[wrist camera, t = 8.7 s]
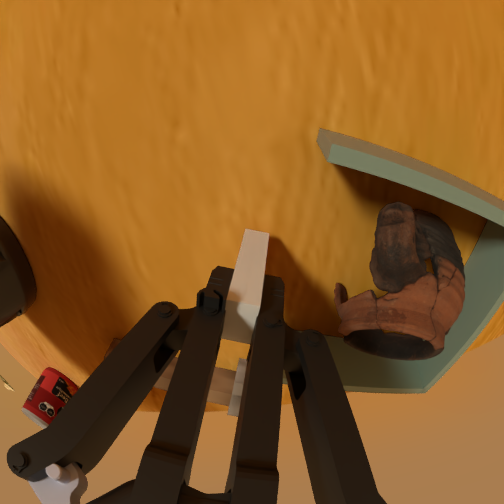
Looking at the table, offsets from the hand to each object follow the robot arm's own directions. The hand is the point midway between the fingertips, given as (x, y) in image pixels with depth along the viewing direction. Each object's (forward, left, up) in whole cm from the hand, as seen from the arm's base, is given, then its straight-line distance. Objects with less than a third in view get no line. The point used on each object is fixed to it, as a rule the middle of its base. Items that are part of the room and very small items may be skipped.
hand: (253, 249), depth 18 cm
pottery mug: (+10, +1, -1) cm, 10 cm away
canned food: (-30, -38, -1) cm, 48 cm away
